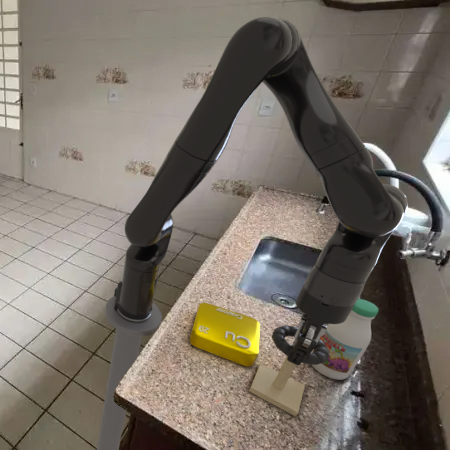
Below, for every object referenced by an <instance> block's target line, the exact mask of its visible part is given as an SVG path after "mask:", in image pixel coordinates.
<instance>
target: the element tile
mask: <svg viewBox="0 0 450 450" xmlns="http://www.w3.org/2000/svg"><path fill="white" fill-rule="evenodd" d="M260 331H261V324H260V322H259V320H257V319H256V318H253V317H251V316H248V315H246V314H242V313H240V312H236V311H233V310H230V309H228V308H224V307H221V306H217V305H216V304H211V303H209V302H200V303H199V304H198V307H197V311H196V314H195V318H194V321H193V325H192V329H191V331H190V332H191V333H190V335H189V343H190V344H191V345H192V346H193V347H195V348H197V349H199V350H202V351H205V352H208V353H210V354H212V355H215V356H218V357H220V358H222V359H225V360H227V361H231V362H233V363H236V364H238V365H240V366H244V367H253V365H254V364H255V362H256V360H257V357H258V355H259V353H260V352H259V351H260V349H259V348H260Z"/></svg>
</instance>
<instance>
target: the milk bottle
mask: <svg viewBox="0 0 450 450" xmlns="http://www.w3.org/2000/svg"><path fill="white" fill-rule="evenodd" d="M378 313H379V308H378V306H376V304H375V303H373V302H370V301H368V300H365V299H362V298H358V300H357V301H356V303H355V305H354V307H353V308H352V310H351V312H350V314H349V315H348V317H347V319H346V320H345V321H344V322H343V323H340V324H327V325H326V327H327V330H326V332H325V334H324V335H323V336H321V337H320V339H321V340H322V341H323V342H324V344H325V345H326V347H327V348H328V350H329V357H328V360H327V361H326V362H324V363H321V364H318V365H312V364H310V365H311V366H312V368H313V369H315V370H316V371H317V372H318V373H319V374H321V375H323V376H325V377H327V378H330V379H332V380H339V381H341V380H342V381H343V380H345V379H347V378H348V377H349V376H350V375H351V373H352V372H353V370H354V369H355V368H356V366H357V365H358V363H359V361H360V360H361V358H362V357H363V355H364V353H365V352H366V350H367V348H368V347H369V345H370V343H371V340H372V328H371V326H372V325H371V324H372V321H373V320H374V319H375V318H376V316H377V315H378ZM313 352H315V350H314V349H313V351H312V352H311V353H313Z"/></svg>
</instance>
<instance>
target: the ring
mask: <svg viewBox="0 0 450 450" xmlns="http://www.w3.org/2000/svg"><path fill="white" fill-rule="evenodd" d="M297 327H298V326H293V325H287V324H285V325H281V326H277V327H275V328H274V330H273V332H272V335H271V339H272V341H273V343H274V345H275V348H276V349H278V350H279V351H280V352H281V353H283V354H284V355H285V356H286V357H287V356H289V354H290V352H291V350H292V347H293V346H292V344H290V343H289V342H288V341H287V339H286V338H287V337H293V338H295V337H294V336H295V333H296V331H297ZM314 339H315V338H314ZM313 350H315V352H313V351H312V352H313V353H312V352H311V353H310V355H309V356H308V357H304V359H303V361H302V363H301V364H306V365H311V364H312V365H318V364H321V363H324V362H326V361H327V360H328V357H329V350H328V348H327V347H326V345H325V344H324V342H323V341H322V340H321V339H319V341H318V343H317V346H316V347H315V348H314V349H313ZM312 365H311V366H312Z"/></svg>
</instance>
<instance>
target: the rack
mask: <svg viewBox="0 0 450 450" xmlns="http://www.w3.org/2000/svg"><path fill="white" fill-rule="evenodd" d="M287 358H288V356H287V355H286V356H285V359H284V361H283V362H282V365H281V367H280V369H279V371H277V370H275V369H273V368H271V367H269V366H267V365H265V364H263V363H259V366H258V367H257V370H256V373H255V375H254V377H253V380H252V383H251V385H250V388H249V390H248V392H249V393H252V394H253V395H255V396H257V397H259V398H261V399H262V400H264V401H266V402H268V403H269V404H271V405H273V406H275V407H277V408H279V409H280V410H282V411H284V412H287V413H288V414H290V415H292V416H293V417H297V416H298V414H299V412H300V407H301V404H302V399H303V396H304V391H305V387H306V385H305V384H303V383H301V382H300V381H297V380H296V379H293V378H292V377H291V375H292V373H293V372H294V370H295V368H296V366H297V365H295V364H293V363H291V362H289V361H288V360H287Z"/></svg>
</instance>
